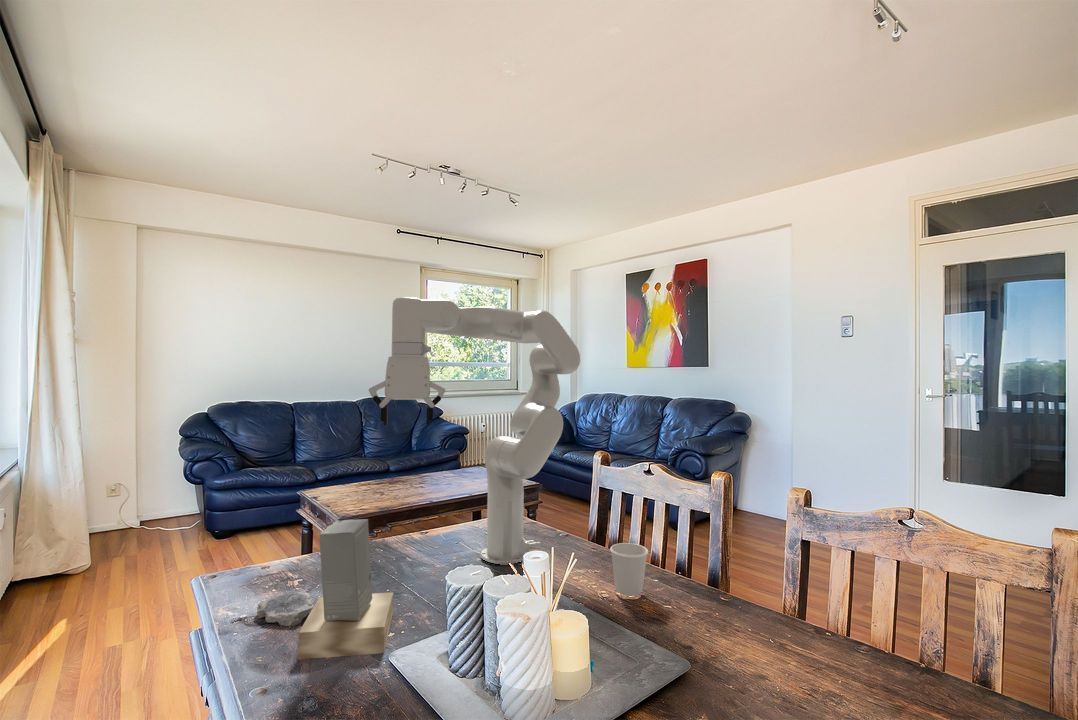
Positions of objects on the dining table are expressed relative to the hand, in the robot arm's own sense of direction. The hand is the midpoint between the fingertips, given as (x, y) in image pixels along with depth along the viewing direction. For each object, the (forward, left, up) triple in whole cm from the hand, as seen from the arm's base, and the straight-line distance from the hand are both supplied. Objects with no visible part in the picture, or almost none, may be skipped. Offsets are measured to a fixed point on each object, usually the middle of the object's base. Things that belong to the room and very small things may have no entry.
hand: (407, 424), depth 121 cm
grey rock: (+22, +12, -37) cm, 45 cm away
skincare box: (+9, +23, -32) cm, 40 cm away
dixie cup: (-49, +15, -36) cm, 63 cm away
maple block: (+9, +23, -37) cm, 44 cm away
